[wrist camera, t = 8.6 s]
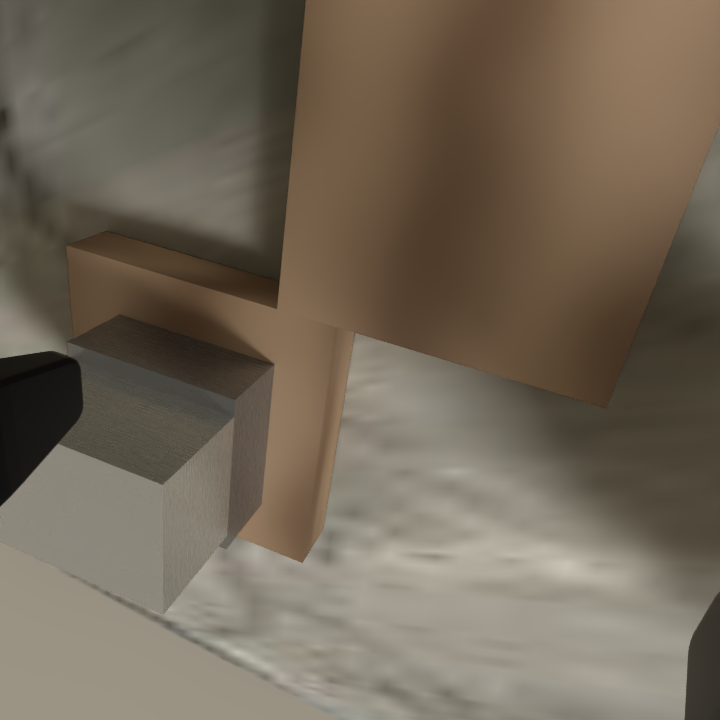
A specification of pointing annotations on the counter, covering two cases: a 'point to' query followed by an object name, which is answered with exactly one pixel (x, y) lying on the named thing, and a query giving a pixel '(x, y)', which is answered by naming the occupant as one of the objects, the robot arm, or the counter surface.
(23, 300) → the counter surface
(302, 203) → the stand
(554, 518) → the counter surface
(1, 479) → the robot arm
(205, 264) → the stand
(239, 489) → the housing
